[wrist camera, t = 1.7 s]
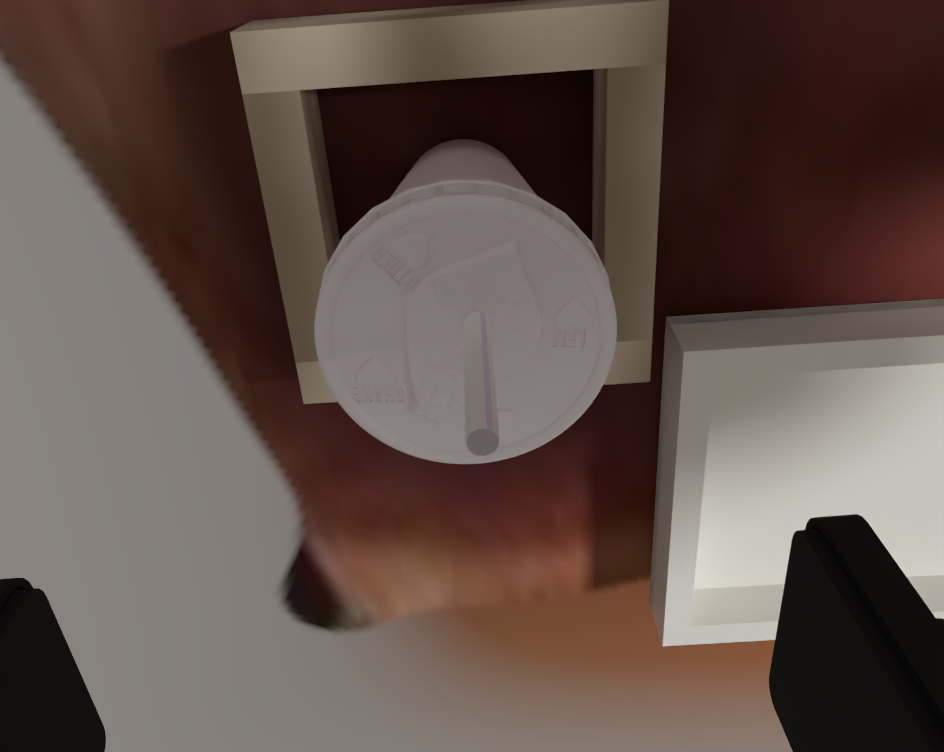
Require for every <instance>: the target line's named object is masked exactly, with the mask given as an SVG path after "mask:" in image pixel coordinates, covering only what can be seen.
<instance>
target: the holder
mask: <svg viewBox="0 0 944 752" xmlns="http://www.w3.org/2000/svg"><path fill="white" fill-rule="evenodd" d="M668 13H669V0H524V1H511V2H497V3H483V4H470V5H456V6H443V7H429V8H416V9H402V10H388V11H375V12H361V13H348V14H334V15H321V16H307V17H294V18H280V19H266V20H253V21H250V22H248V23H246V24H244V25H243V26H241V27H239V28H237V29H235V30H233V31H231V32H230V36H231V41H232V46H233V51H234V56H235V62H236V67H237V72H238V77H239V82H240V87H241V92H242V97H243V102H244V107H245V112H246V117H247V122H248V127H249V132H250V137H251V142H252V147H253V152H254V157H255V162H256V167H257V172H258V177H259V182H260V187H261V192H262V197H263V202H264V207H265V212H266V217H267V222H268V227H269V232H270V237H271V242H272V247H273V252H274V257H275V262H276V268H277V273H278V278H279V283H280V288H281V293H282V298H283V303H284V308H285V313H286V318H287V323H288V328H289V333H290V338H291V343H292V348H293V353H294V358H295V363H296V368H297V373H298V378H299V383H300V388H301V393H302V398H303V403H304V404H312V403H328V402H338V401H337V400H336V398H335V397H334V395H333V393H332V392H331V390H330V389H329V386H328V384H327V382H326V380H325V378H324V376H323V373H322V370H321V367H320V365H319V361H318V356H317V352H316V345H315V330H314V324H315V314H316V308H317V301H318V297H319V292H320V288H321V284H322V279H323V275H324V270H325V268H326V266H327V264H328V262H329V261H330V259H331V257H332V255H333V253H334V252H335V250H336V248H337V246H338V245H339V243H340V238H339V231H338V225H337V218H336V212H335V205H334V199H333V192H332V186H331V179H330V173H329V166H328V160H327V154H326V147H325V141H324V134H323V128H322V121H321V115H320V108H319V102H318V95H317V89H324V88H338V87H352V86H366V85H380V84H394V83H408V82H421V81H435V80H449V79H463V78H477V77H491V76H505V75H519V74H533V73H547V72H560V71H574V70H588V69H594V70H593V195H592V243H593V245H594V247H595V249H596V252H597V254H598V256H599V258H600V260H601V262H602V264H603V266H604V268H605V270H606V272H607V274H608V278H609V284H610V290H611V293H612V297H613V301H614V304H615V311H616V318H617V337H616V347H615V352H614V357H613V361H612V364H611V367H610V371H609V373H608V375H607V378H606V380H605V382H604V384H603V385H609V384H624V383H640V382H650V374H651V354H652V334H653V314H654V294H655V274H656V254H657V233H658V213H659V193H660V173H661V153H662V133H663V113H664V93H665V73H666V53H667V33H668Z"/></svg>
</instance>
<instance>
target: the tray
mask: <svg viewBox="0 0 944 752" xmlns="http://www.w3.org/2000/svg"><path fill="white" fill-rule="evenodd" d="M853 514H858V515H860V516H862V517H863V518H864V519H865V520H866V521H867V522H868V523H869V525H870V526H871V528H872V529H873V530H874V532H875V533H876V535H877V536H878V538H879V539H880V540H881V542H882V543H883V545H884V546H885V547H886V549H887V550H888V552H889V553H890V554H891V556H892V557H893V559H894V560H895V561H896V563H897V564H898V566H899V567H900V568H901V570H902V571H903V573H904V574H905V576H906V577H907V578H908V580H909V581H910V583H911V584H912V585H913V587H914V588H915V590H916V591H917V592H918V594H919V595H920V597H921V598H922V599H923V601H924V602H925V604H926V605H927V606H928V608H929V609H930V611H931V612H932V613H933V615H934V616H935V618H942V619H944V299H929V300H913V301H898V302H883V303H868V304H853V305H837V306H822V307H807V308H792V309H777V310H761V311H746V312H731V313H716V314H700V315H685V316H670V317H666V325H665V342H664V359H663V376H662V394H661V411H660V428H659V445H658V462H657V479H656V496H655V513H654V530H653V547H652V564H651V582H650V602H651V606H652V610H653V613H654V617H655V620H656V624H657V628H658V631H659V635H660V639H661V642H662V645H663V646H674V645H691V644H710V643H727V642H744V641H762V640H775V639H776V633H777V627H778V621H779V615H780V609H781V603H782V597H783V590H784V584H785V578H786V572H787V566H788V560H789V554H790V548H791V542H792V538H793V534H794V533H795V532H796V531H799V530H805V528H806V524H807V522H808V521H809V519H810V518H814V517H826V516H839V515H853Z"/></svg>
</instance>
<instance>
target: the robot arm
mask: <svg viewBox="0 0 944 752" xmlns="http://www.w3.org/2000/svg"><path fill="white" fill-rule="evenodd" d="M769 688H770V694H771V698H772V702H773V705H774V708H775V711H776V713H777V715H778V717H779V720H780V722H781V724H782V727H783V729H784V732H785V734H786V736H787V739H788V741H789V743H790V746H791V748H792V750H793V752H944V619H942V618H935V616H934V615H933V613H932V612H931V611H930V609H929V608H928V606H927V605H926V604H925V602H924V601H923V599H922V598H921V597H920V595H919V594H918V592H917V591H916V590H915V588H914V587H913V585H912V584H911V583H910V581H909V580H908V578H907V577H906V576H905V574H904V573H903V571H902V570H901V568H900V567H899V566H898V564H897V563H896V561H895V560H894V559H893V557H892V556H891V554H890V553H889V552H888V550H887V549H886V547H885V546H884V545H883V543H882V542H881V540H880V539H879V538H878V536H877V535H876V533H875V532H874V530H873V529H872V528H871V526H870V525H869V523H868V522H867V521H866V520H865V519H864V518H863V517H862V516H860V515H858V514H853V515H839V516H826V517H814V518H810V519H809V521H808V522H807V524H806V528H805V530H799V531H796V532H795V533H794V534H793V538H792V542H791V548H790V554H789V560H788V566H787V572H786V578H785V584H784V590H783V597H782V603H781V609H780V615H779V621H778V627H777V633H776V639H775V645H774V651H773V657H772V663H771V669H770V676H769ZM105 743H106V736H105V730H104V726H103V724H102V721H101V719H100V717H99V715H98V712H97V710H96V708H95V706H94V703H93V701H92V699H91V697H90V694H89V692H88V690H87V687H86V685H85V683H84V681H83V679H82V676H81V674H80V672H79V669H78V667H77V665H76V663H75V660H74V658H73V656H72V653H71V651H70V649H69V647H68V644H67V642H66V640H65V638H64V635H63V633H62V631H61V629H60V626H59V624H58V622H57V619H56V617H55V615H54V613H53V610H52V608H51V606H50V604H49V601H48V599H47V597H46V595H45V593H44V592H43V591H42V590H40V589H33V587H32V586H31V584H30V582H29V581H27V580H26V579H24V578H12V579H0V752H104V751H105Z"/></svg>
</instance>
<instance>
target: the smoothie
mask: <svg viewBox="0 0 944 752" xmlns="http://www.w3.org/2000/svg"><path fill="white" fill-rule="evenodd" d="M314 330H315V345H316V352H317V356H318V361H319V365H320V367H321V370H322V373H323V376H324V378H325V380H326V382H327V384H328V386H329V389H330V390H331V392H332V393H333V395H334V397H335V398H336V400H337V401H338V403H339V404H340V405H341V407H342V408H343V409H344V410H345V412H346V413H347V414H348V415H349V416H350V417H351V418H352V419H353V420H354V421H355V422H356V423H357V424H358V425H359V426H360V427H362V428H363V429H364V430H365V431H367V432H368V433H369V434H371V435H372V436H373V437H375V438H377V439H378V440H380V441H381V442H383V443H385V444H387V445H389V446H390V447H392V448H394V449H396V450H399V451H401V452H404V453H406V454H409V455H412V456H415V457H418V458H422V459H426V460H430V461H435V462H442V463H450V464H480V463H489V462H495V461H500V460H505V459H508V458H512V457H516V456H518V455H521V454H524V453H527V452H529V451H531V450H534V449H536V448H538V447H540V446H542V445H544V444H545V443H547V442H549V441H551V440H552V439H554V438H555V437H557V436H558V435H560V434H561V433H563V432H564V431H565V430H566V429H568V428H569V427H570V426H571V425H572V424H574V423H575V422H576V421H577V420H578V419H579V418H580V417H581V416H582V415H583V413H584V412H585V411H586V410H587V409H588V407H589V406H590V405H591V404H592V402H593V401H594V399H595V398H596V396H597V395H598V393H599V392H600V390H601V388H602V386H603V384H604V382H605V380H606V378H607V375H608V373H609V371H610V367H611V364H612V361H613V357H614V352H615V347H616V337H617V318H616V311H615V304H614V301H613V297H612V293H611V290H610V284H609V278H608V274H607V272H606V270H605V268H604V266H603V264H602V262H601V260H600V258H599V256H598V254H597V252H596V249H595V247H594V245H593V243H592V242H591V241H590V239H589V238H588V237H587V236H586V235H585V234H584V233H583V232H582V231H581V230H580V229H579V227H578V226H577V225H576V224H575V223H574V222H573V221H572V220H571V219H570V218H569V217H568V215H567V214H566V213H564V212H563V211H561V210H559V209H558V208H556V207H554V206H553V205H551V204H550V203H548V202H546V201H545V200H543V199H542V198H540V197H538V196H537V195H536V194H535V193H534V191H533V190H532V189H531V187H530V186H529V185H528V184H527V182H526V181H525V180H524V178H523V177H522V176H521V175H520V173H519V172H518V171H517V169H516V168H515V167H514V166H513V164H512V163H511V162H510V161H509V159H508V158H507V157H506V156H505V155H504V154H502V153H501V152H500V151H499V150H497V149H496V148H494V147H492V146H490V145H488V144H486V143H483V142H480V141H476V140H469V139H457V140H451V141H447V142H444V143H441V144H439V145H436V146H435V147H433V148H431V149H430V150H428V151H427V152H425V153H424V154H423V155H422V156H421V157H420V158H419V159H418V160H417V162H416V163H415V164H414V166H413V167H412V168H411V170H410V171H409V172H408V174H407V175H406V177H405V178H404V179H403V181H402V182H401V183H400V185H399V186H398V188H397V189H396V190H395V192H394V193H393V194H392V196H391V197H390V199H388V200H386V201H384V202H383V203H381V204H379V205H377V206H375V207H373V208H372V209H371V210H370V211H369V212H368V213H367V214H366V215H364V216H363V217H362V218H361V219H360V220H359V221H358V222H357V223H356V224H355V225H354V226H353V227H352V228H351V229H350V230H349V231H348V232H347V233H346V234H345V235H344V236H343V238H342V239H341V241H340V243H339V245H338V246H337V248H336V250H335V252H334V253H333V255H332V257H331V259H330V261H329V262H328V264H327V266H326V268H325V270H324V275H323V279H322V284H321V288H320V292H319V297H318V301H317V308H316V314H315V324H314Z"/></svg>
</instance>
